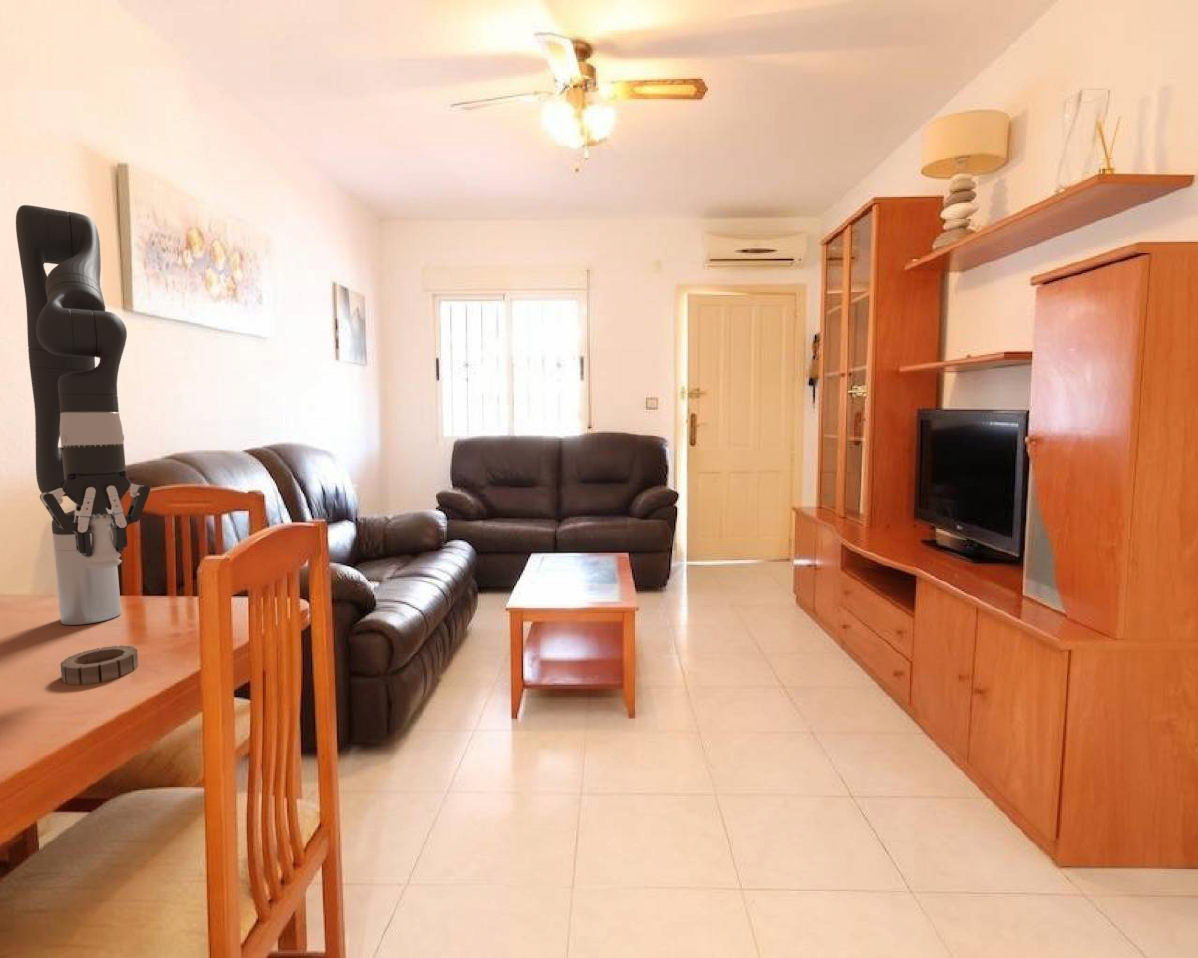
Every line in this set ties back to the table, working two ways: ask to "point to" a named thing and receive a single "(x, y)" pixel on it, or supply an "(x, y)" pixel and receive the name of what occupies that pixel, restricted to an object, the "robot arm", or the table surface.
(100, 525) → the rook chess piece
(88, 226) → the robot arm
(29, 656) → the table surface
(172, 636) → the table surface
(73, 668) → the walnut ring bead
